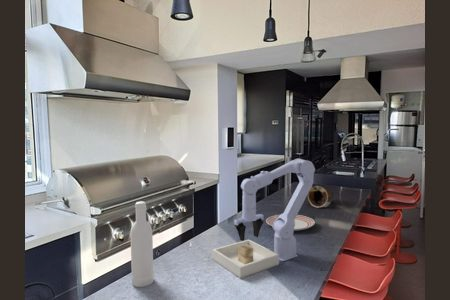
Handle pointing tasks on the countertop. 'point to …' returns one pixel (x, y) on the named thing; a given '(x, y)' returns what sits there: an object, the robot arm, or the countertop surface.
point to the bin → (229, 261)
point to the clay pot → (320, 196)
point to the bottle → (141, 248)
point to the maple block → (245, 254)
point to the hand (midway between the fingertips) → (249, 238)
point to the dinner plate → (300, 222)
